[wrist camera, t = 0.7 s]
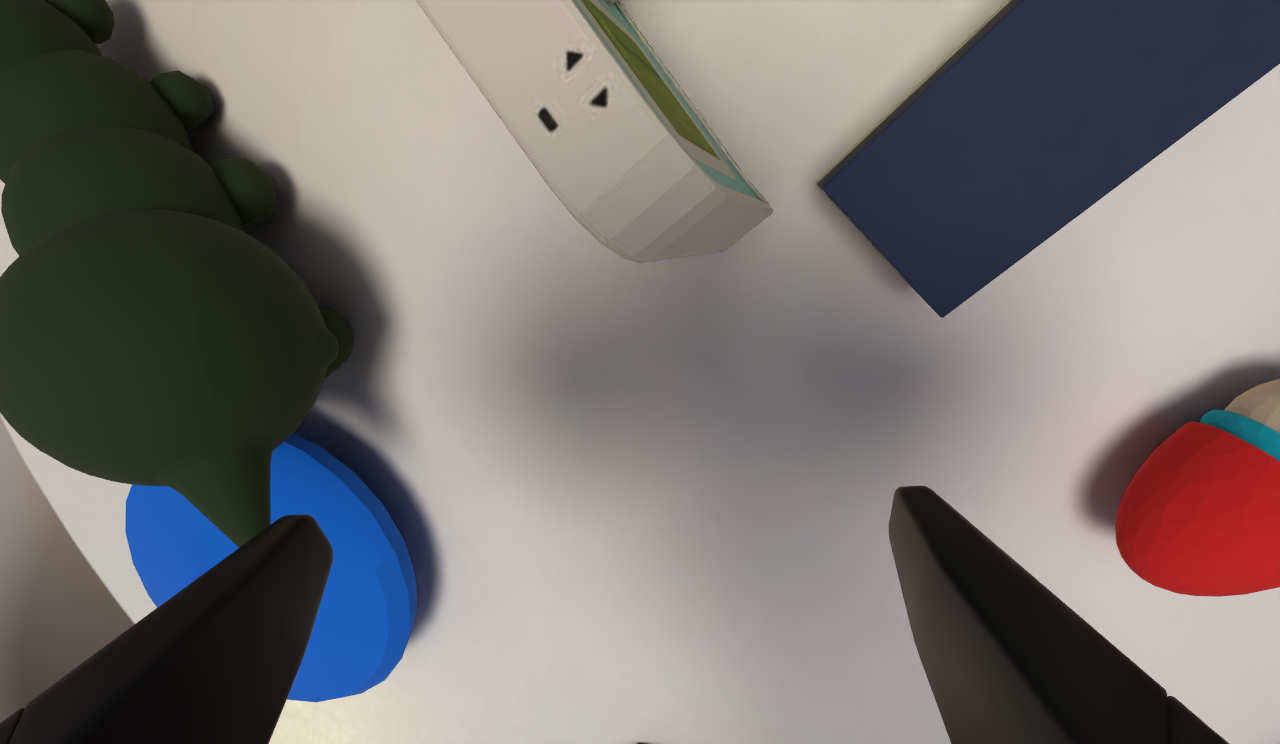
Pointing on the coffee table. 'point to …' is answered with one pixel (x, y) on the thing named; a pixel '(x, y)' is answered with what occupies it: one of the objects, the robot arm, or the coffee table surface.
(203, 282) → the green caterpillar figure
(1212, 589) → the toy figure
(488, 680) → the coffee table surface
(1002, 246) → the dark blue rectangular block
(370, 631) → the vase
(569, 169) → the handheld gaming console
